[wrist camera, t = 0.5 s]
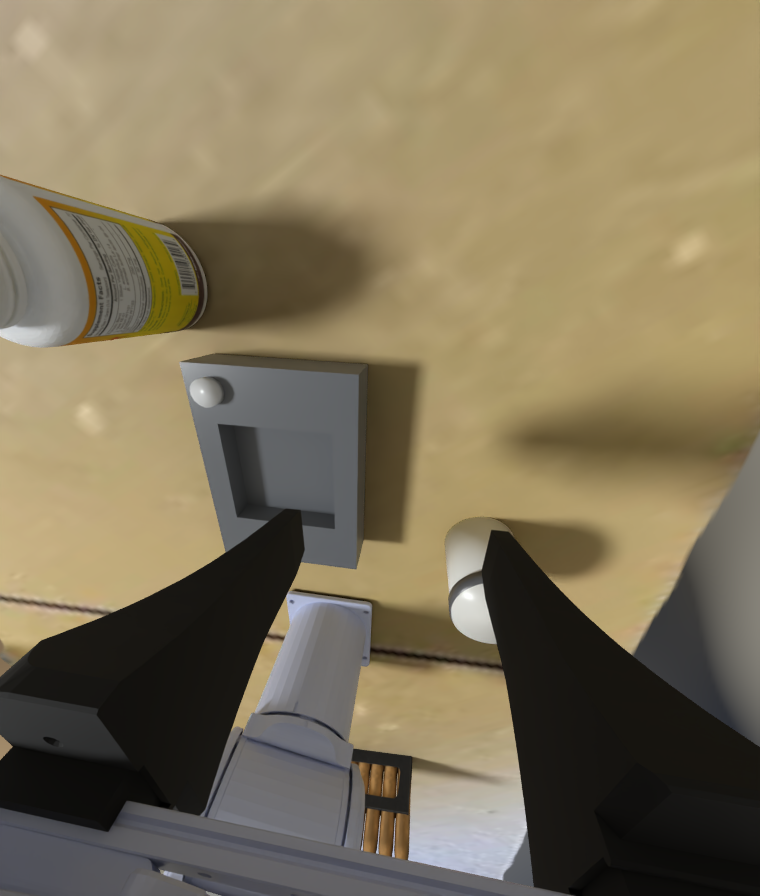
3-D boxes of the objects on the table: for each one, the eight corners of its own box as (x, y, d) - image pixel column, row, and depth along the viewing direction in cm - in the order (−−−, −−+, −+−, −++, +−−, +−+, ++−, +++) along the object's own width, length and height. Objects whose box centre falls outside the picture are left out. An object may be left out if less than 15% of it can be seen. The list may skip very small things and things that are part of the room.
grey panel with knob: (363, 540, 24) (354, 576, 21) (246, 525, 25) (220, 558, 22) (367, 364, 18) (356, 377, 15) (213, 353, 19) (171, 363, 16)
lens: (507, 573, 24) (531, 650, 19) (439, 564, 25) (443, 637, 19) (524, 520, 22) (557, 591, 16) (448, 511, 22) (457, 578, 17)
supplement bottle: (110, 287, 18) (-205, 270, 9) (139, 196, 16) (-239, 53, 7) (191, 350, 19) (-17, 393, 10) (229, 273, 17) (7, 240, 8)
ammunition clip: (335, 752, 42) (306, 906, 31) (333, 745, 41) (303, 901, 31) (412, 762, 41) (409, 927, 30) (411, 756, 40) (408, 923, 29)
